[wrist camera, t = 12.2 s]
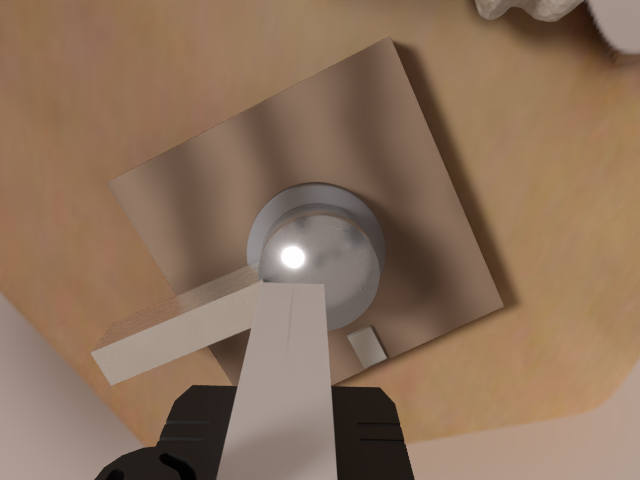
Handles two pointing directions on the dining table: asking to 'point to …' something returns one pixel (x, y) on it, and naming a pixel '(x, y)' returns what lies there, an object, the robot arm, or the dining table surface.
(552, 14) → the seashell
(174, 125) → the dining table surface
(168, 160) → the mount
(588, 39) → the dining table surface
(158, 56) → the dining table surface
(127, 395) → the dining table surface
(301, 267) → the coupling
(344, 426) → the robot arm
